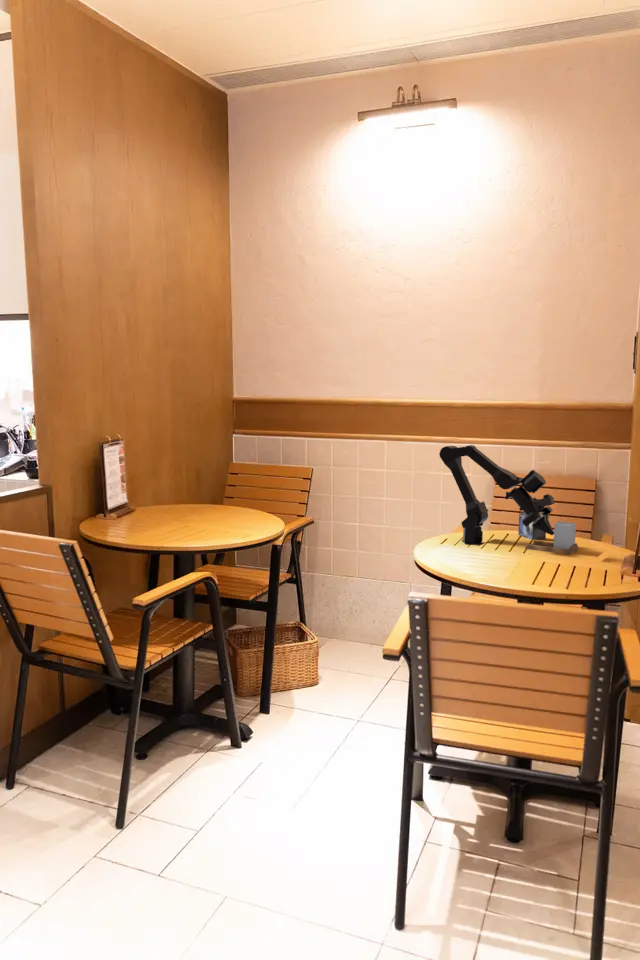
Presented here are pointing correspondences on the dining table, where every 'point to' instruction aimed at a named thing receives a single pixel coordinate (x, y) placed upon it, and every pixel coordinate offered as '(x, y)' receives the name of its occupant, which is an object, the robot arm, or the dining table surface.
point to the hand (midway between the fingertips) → (553, 534)
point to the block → (564, 535)
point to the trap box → (550, 547)
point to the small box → (529, 530)
